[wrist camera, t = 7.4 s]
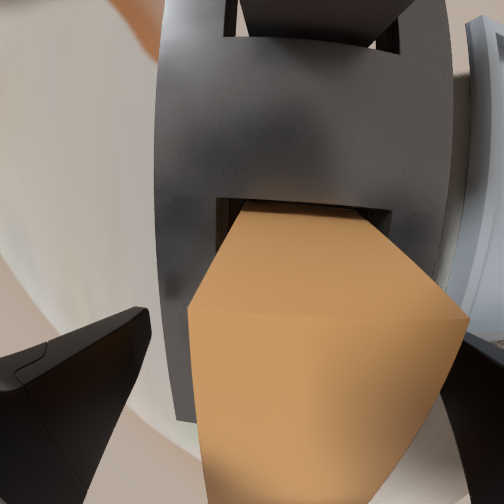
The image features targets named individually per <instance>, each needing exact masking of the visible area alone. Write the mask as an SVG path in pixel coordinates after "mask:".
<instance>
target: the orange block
mask: <svg viewBox="0 0 504 504" xmlns="http://www.w3.org/2000/svg"><path fill="white" fill-rule="evenodd" d="M187 309H188V326H189V341H190V355H191V367H192V379H193V389H194V400H195V409H196V418H197V427H198V435H199V443H200V451H201V458H202V465H203V472H204V478H205V485H206V492H207V498H208V503H209V504H368V503H369V501H370V500H371V499H372V498H373V496H374V495H375V494H376V493H377V491H378V490H379V489H380V487H381V486H382V485H383V483H384V482H385V481H386V479H387V478H388V477H389V475H390V474H391V472H392V471H393V469H394V468H395V467H396V465H397V464H398V462H399V461H400V459H401V458H402V456H403V455H404V453H405V452H406V450H407V449H408V447H409V445H410V444H411V442H412V441H413V439H414V437H415V436H416V434H417V432H418V431H419V429H420V427H421V426H422V424H423V422H424V420H425V419H426V417H427V415H428V413H429V411H430V409H431V408H432V406H433V404H434V402H435V400H436V398H437V396H438V394H439V392H440V390H441V388H442V386H443V384H444V382H445V380H446V378H447V376H448V373H449V371H450V369H451V367H452V365H453V362H454V360H455V358H456V355H457V353H458V350H459V348H460V346H461V343H462V341H463V338H464V335H465V333H466V330H467V327H468V325H469V322H470V318H469V317H468V316H467V314H466V313H465V312H464V311H463V310H462V309H461V308H460V307H459V306H458V305H457V304H456V303H455V302H454V301H453V300H452V299H451V298H450V297H449V296H448V295H447V294H446V293H445V292H444V291H443V290H442V289H441V288H440V287H439V286H438V285H437V284H436V283H435V282H434V281H433V280H432V279H431V278H430V277H429V276H428V275H427V274H426V273H425V272H424V271H423V270H422V269H421V268H419V267H418V266H417V265H416V264H415V263H414V262H413V261H412V260H411V259H410V258H409V257H408V256H407V255H405V254H404V253H403V252H402V251H401V250H400V249H399V248H398V247H397V246H396V245H394V244H393V243H392V242H391V241H390V240H389V239H388V238H387V237H385V236H384V235H383V234H382V233H381V232H380V231H379V230H377V229H376V228H375V227H374V226H373V225H372V224H370V223H369V222H368V221H367V220H366V219H365V218H363V217H362V216H361V215H360V214H359V213H357V212H356V211H355V210H354V209H343V208H332V207H321V206H308V205H295V204H280V203H265V202H248V201H246V202H245V204H244V206H243V208H242V210H241V211H240V213H239V215H238V217H237V218H236V220H235V222H234V224H233V226H232V227H231V229H230V231H229V233H228V234H227V236H226V238H225V240H224V242H223V244H222V245H221V247H220V249H219V251H218V253H217V254H216V256H215V258H214V260H213V262H212V264H211V265H210V267H209V269H208V271H207V273H206V275H205V276H204V278H203V280H202V282H201V284H200V286H199V287H198V289H197V291H196V293H195V295H194V297H193V299H192V301H191V302H190V304H189V306H188V308H187Z"/></svg>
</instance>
